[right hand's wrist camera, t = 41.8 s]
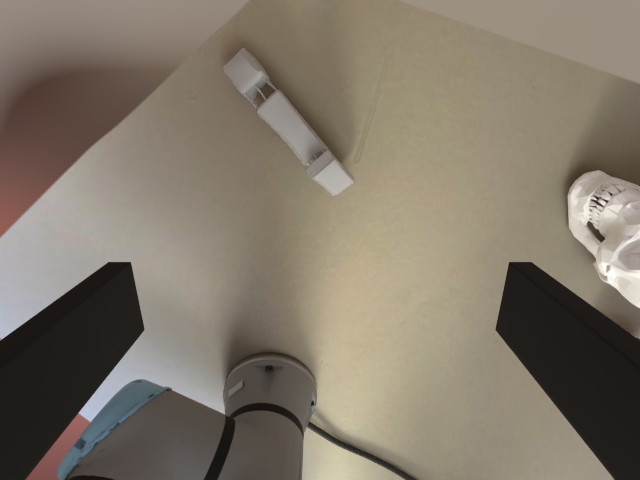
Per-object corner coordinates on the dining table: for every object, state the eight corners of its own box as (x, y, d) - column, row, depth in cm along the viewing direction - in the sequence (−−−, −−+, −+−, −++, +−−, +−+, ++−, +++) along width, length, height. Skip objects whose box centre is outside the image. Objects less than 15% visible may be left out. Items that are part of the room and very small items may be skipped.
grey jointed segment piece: (355, 178, 47) (358, 184, 40) (334, 196, 47) (332, 205, 41) (252, 52, 43) (236, 37, 37) (230, 74, 44) (211, 63, 38)
